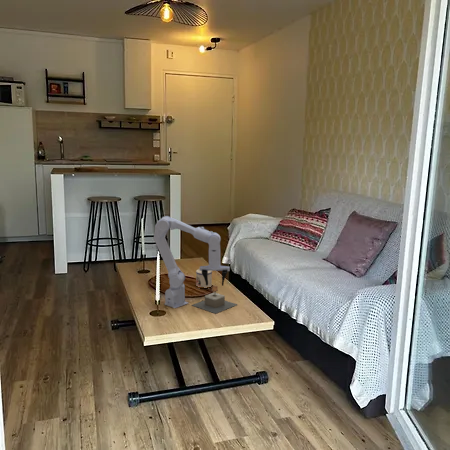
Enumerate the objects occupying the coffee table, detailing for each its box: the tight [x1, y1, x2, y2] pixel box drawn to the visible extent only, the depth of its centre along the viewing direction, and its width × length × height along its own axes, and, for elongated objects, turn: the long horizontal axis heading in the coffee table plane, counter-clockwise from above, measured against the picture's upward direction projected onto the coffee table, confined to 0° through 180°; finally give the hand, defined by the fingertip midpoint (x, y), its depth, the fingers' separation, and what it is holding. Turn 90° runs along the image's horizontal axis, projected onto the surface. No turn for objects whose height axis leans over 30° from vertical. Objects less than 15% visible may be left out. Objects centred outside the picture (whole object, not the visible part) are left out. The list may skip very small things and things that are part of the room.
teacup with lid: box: [195, 268, 213, 288], centre depth 251 cm, size 12×9×12 cm
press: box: [191, 292, 238, 315], centre depth 224 cm, size 16×16×5 cm
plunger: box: [211, 285, 219, 297], centre depth 223 cm, size 5×5×6 cm
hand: (214, 284), depth 223 cm, fingers open, 7 cm apart
